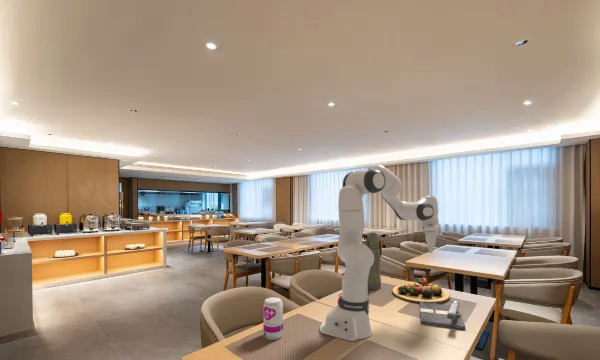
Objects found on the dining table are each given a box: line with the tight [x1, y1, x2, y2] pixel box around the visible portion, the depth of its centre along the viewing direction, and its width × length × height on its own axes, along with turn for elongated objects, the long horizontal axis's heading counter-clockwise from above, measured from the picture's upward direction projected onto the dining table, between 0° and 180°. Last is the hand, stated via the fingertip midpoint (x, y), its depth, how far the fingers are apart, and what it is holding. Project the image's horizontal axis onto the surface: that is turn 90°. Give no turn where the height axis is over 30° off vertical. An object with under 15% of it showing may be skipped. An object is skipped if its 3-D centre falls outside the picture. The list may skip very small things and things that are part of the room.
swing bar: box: [447, 299, 461, 320], centre depth 135 cm, size 21×4×2 cm, turn 147°
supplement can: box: [262, 296, 284, 341], centre depth 125 cm, size 8×8×15 cm
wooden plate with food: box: [391, 277, 451, 305], centre depth 175 cm, size 32×32×8 cm
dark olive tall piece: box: [363, 232, 383, 291], centre depth 190 cm, size 9×12×35 cm
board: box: [419, 302, 466, 331], centre depth 144 cm, size 18×26×5 cm
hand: (430, 252), depth 155 cm, fingers closed
